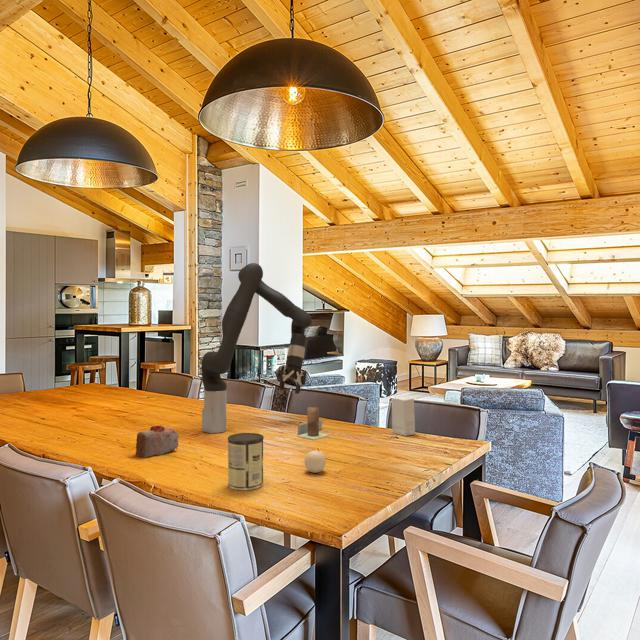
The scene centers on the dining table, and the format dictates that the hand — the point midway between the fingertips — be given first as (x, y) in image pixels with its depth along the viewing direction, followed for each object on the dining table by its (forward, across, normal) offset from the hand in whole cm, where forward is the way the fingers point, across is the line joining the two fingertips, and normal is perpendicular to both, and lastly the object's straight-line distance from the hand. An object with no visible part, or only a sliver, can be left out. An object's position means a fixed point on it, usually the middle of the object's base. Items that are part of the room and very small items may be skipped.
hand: (289, 391), depth 242 cm
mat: (+17, +1, +23) cm, 29 cm away
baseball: (+29, +28, +62) cm, 74 cm away
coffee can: (+35, +52, +59) cm, 86 cm away
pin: (+17, +1, +23) cm, 29 cm away
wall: (+16, -3, +16) cm, 23 cm away
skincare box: (+10, -31, +42) cm, 53 cm away
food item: (+33, +59, +10) cm, 68 cm away
